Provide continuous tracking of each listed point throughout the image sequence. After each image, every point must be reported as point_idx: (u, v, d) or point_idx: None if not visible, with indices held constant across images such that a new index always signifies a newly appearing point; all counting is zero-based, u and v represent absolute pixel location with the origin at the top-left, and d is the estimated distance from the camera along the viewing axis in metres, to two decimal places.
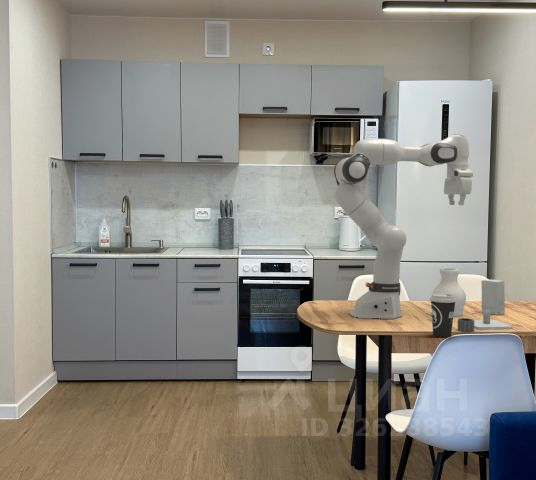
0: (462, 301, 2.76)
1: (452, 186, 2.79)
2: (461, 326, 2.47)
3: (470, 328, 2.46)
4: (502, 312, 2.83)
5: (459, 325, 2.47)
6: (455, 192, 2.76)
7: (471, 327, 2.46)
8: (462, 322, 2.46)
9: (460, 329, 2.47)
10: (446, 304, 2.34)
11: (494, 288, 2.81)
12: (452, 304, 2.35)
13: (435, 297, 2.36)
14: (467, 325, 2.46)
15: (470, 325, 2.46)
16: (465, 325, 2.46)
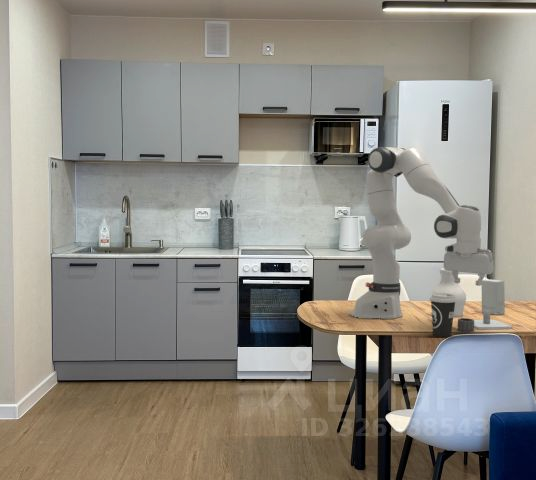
0: (462, 301, 2.76)
1: None
2: (461, 326, 2.47)
3: (470, 328, 2.46)
4: (502, 312, 2.83)
5: (459, 325, 2.47)
6: None
7: (471, 327, 2.46)
8: (462, 322, 2.46)
9: (460, 329, 2.47)
10: (446, 304, 2.34)
11: (494, 288, 2.81)
12: (452, 304, 2.35)
13: (435, 297, 2.36)
14: (467, 325, 2.46)
15: (470, 325, 2.46)
16: (465, 325, 2.46)
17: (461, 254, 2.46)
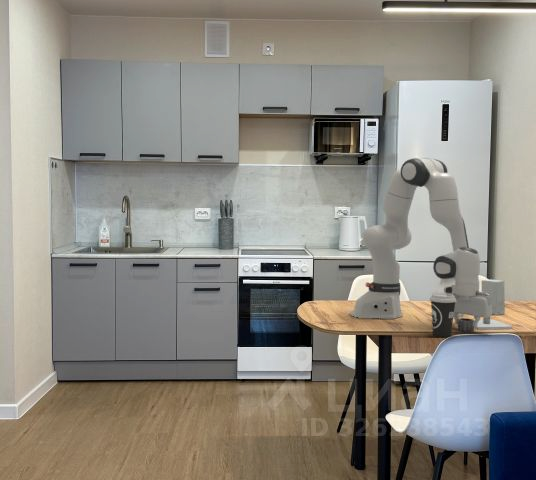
0: None
1: None
2: (461, 326, 2.47)
3: (470, 328, 2.46)
4: (502, 312, 2.83)
5: (459, 325, 2.47)
6: None
7: (471, 327, 2.46)
8: (462, 322, 2.46)
9: (460, 329, 2.47)
10: (446, 304, 2.34)
11: (494, 288, 2.81)
12: (452, 304, 2.35)
13: (435, 297, 2.36)
14: (467, 325, 2.46)
15: (470, 325, 2.46)
16: (465, 325, 2.46)
17: (459, 296, 2.47)
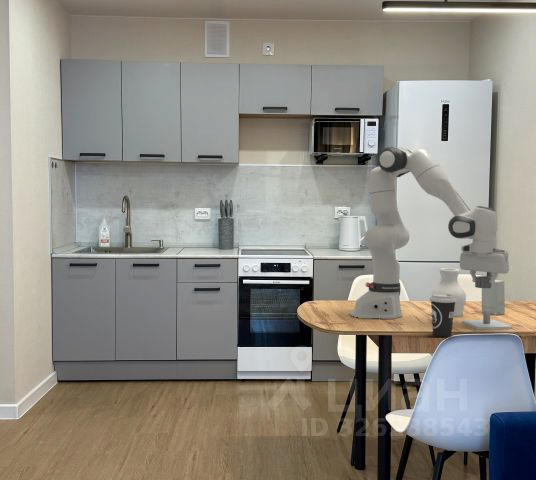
0: (462, 301, 2.76)
1: None
2: (478, 283, 2.52)
3: (487, 285, 2.51)
4: (502, 312, 2.83)
5: (477, 282, 2.53)
6: None
7: (488, 284, 2.51)
8: (479, 279, 2.51)
9: (478, 286, 2.52)
10: (446, 304, 2.34)
11: (494, 288, 2.81)
12: (452, 304, 2.35)
13: (435, 297, 2.36)
14: (484, 282, 2.51)
15: (487, 282, 2.51)
16: (482, 282, 2.51)
17: (477, 254, 2.52)
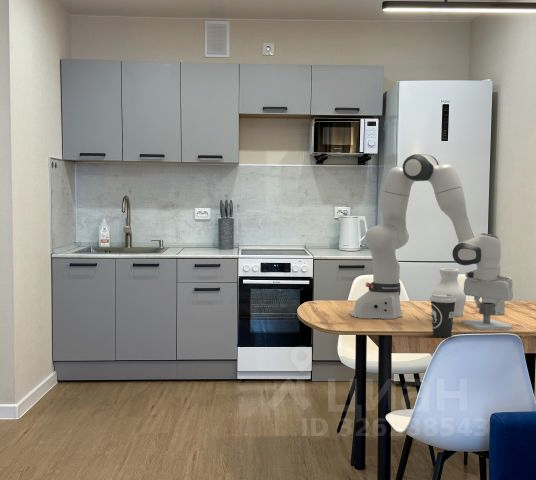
0: (462, 301, 2.76)
1: None
2: (482, 309, 2.55)
3: (492, 311, 2.54)
4: (502, 312, 2.83)
5: (481, 308, 2.56)
6: None
7: None
8: (484, 305, 2.54)
9: (482, 312, 2.55)
10: (446, 304, 2.34)
11: None
12: (452, 304, 2.35)
13: (435, 297, 2.36)
14: (489, 308, 2.54)
15: (492, 308, 2.54)
16: (487, 308, 2.54)
17: (481, 280, 2.55)
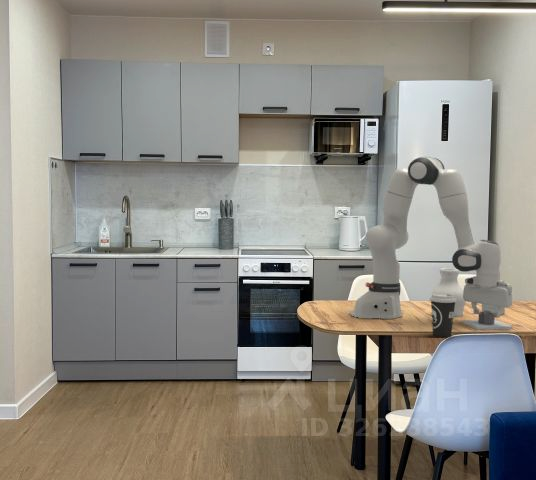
0: (462, 301, 2.76)
1: None
2: (481, 319, 2.55)
3: (491, 321, 2.54)
4: (502, 312, 2.83)
5: (480, 318, 2.56)
6: None
7: (492, 320, 2.55)
8: (483, 315, 2.55)
9: (481, 322, 2.56)
10: (446, 304, 2.34)
11: None
12: (452, 304, 2.35)
13: (435, 297, 2.36)
14: (488, 318, 2.54)
15: (491, 318, 2.54)
16: (486, 318, 2.54)
17: (481, 287, 2.55)
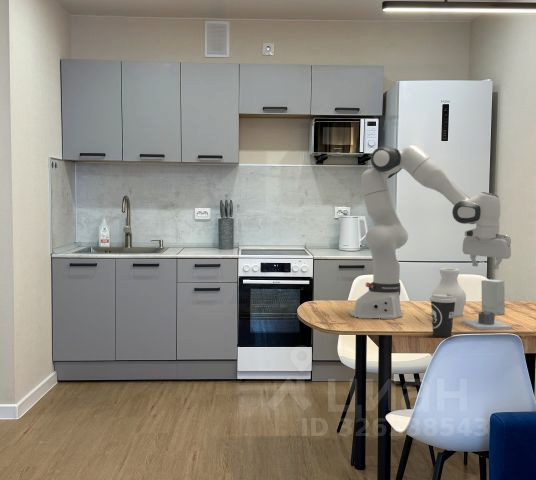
0: (462, 301, 2.76)
1: None
2: (481, 319, 2.55)
3: (491, 321, 2.54)
4: (502, 312, 2.83)
5: (480, 318, 2.56)
6: None
7: (492, 320, 2.55)
8: (483, 315, 2.55)
9: (481, 322, 2.56)
10: (446, 304, 2.34)
11: (494, 288, 2.81)
12: (452, 304, 2.35)
13: (435, 297, 2.36)
14: (488, 318, 2.54)
15: (491, 318, 2.54)
16: (486, 318, 2.54)
17: (480, 239, 2.58)
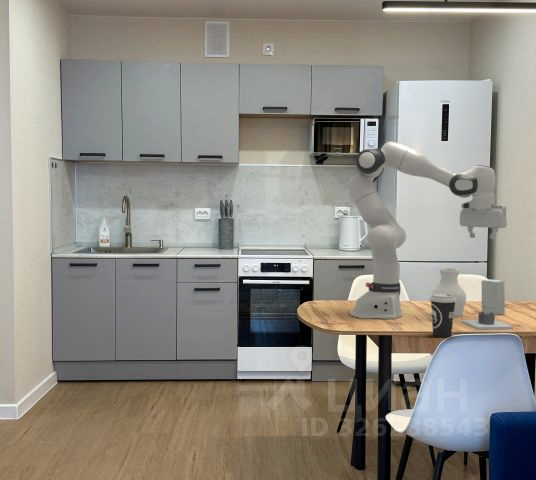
0: (462, 301, 2.76)
1: None
2: (481, 319, 2.55)
3: (491, 321, 2.54)
4: (502, 312, 2.83)
5: (480, 318, 2.56)
6: None
7: (492, 320, 2.55)
8: (483, 315, 2.55)
9: (481, 322, 2.56)
10: (446, 304, 2.34)
11: (494, 288, 2.81)
12: (452, 304, 2.35)
13: (435, 297, 2.36)
14: (488, 318, 2.54)
15: (491, 318, 2.54)
16: (486, 318, 2.54)
17: (476, 210, 2.66)
